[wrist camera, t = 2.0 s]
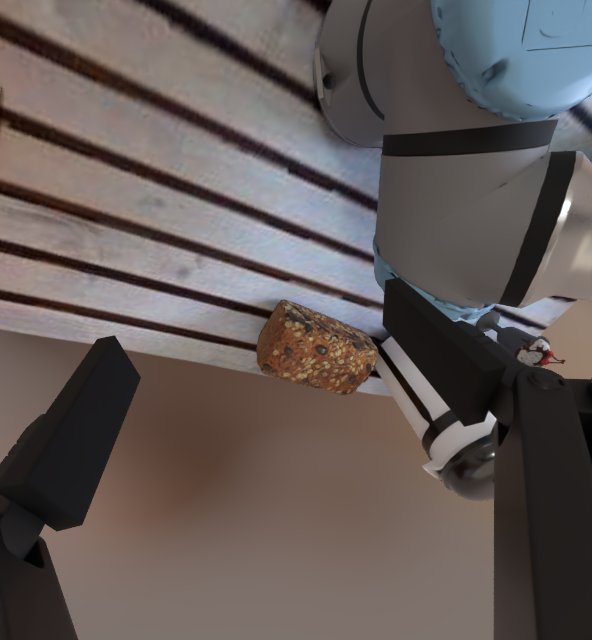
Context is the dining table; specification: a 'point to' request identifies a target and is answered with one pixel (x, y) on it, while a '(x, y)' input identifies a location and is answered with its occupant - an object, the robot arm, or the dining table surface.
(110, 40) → the dining table surface
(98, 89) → the dining table surface
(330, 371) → the bread
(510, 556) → the robot arm
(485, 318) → the sundae
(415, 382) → the coffee press
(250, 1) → the dining table surface
